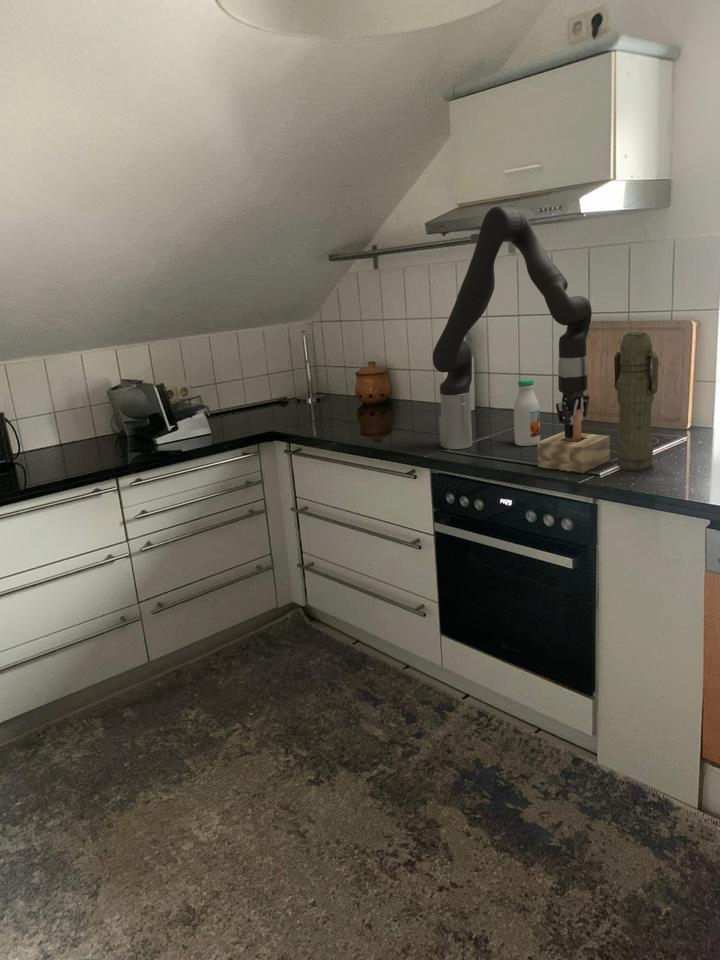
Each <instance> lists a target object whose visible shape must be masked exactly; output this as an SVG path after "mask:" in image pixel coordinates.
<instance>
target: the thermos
mask: <svg viewBox="0 0 720 960" xmlns="http://www.w3.org/2000/svg"><path fill="white" fill-rule="evenodd" d="M613 358H614V359H613V361H614V362H613V363H614V366H613V367H614V385H613V386H614V388H613V389H615V390H616V392H617V396H616V398H617V403H618V414H619V416H618V438H617V440H616V441H617V442H616V458H617V465H618V466H619V467H620V468H621V469H620V468H619V469H620V470H623V471H633V472H634V471H636V472H637V471H645V470H649V469H652V467H653V463H652V461H653V456H654V451H653V450H654V441H653V438H652V404H653V402H654V396H655V394H657V391H658V386H659V385H658V380H659V375H658V374H659V356H658V355H657V353H656V352H654V351H653V343H652V339H651V337H650V334H649V333H646V332H644V331H643V332H642V331H640V332H639V331H637V332H628V333H626V334H625V335H623V337H622V339H621V342H620V347H619V351H618V352H616V353H615V356H614V357H613ZM618 466H617V467H618Z"/></svg>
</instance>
